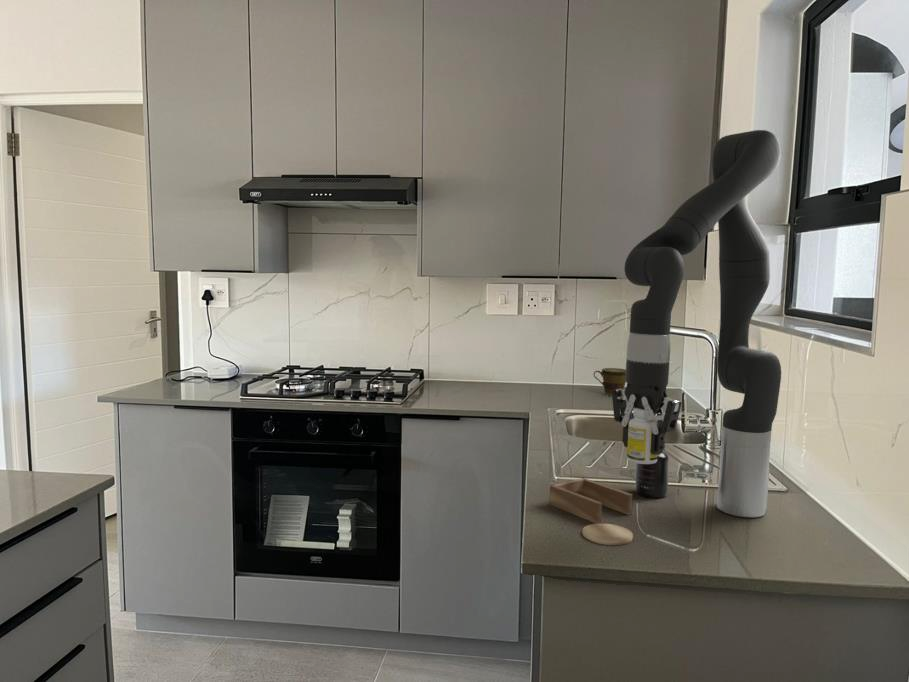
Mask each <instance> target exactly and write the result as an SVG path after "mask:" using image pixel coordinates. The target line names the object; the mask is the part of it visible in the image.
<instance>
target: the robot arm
mask: <svg viewBox="0 0 909 682" xmlns="http://www.w3.org/2000/svg"><path fill="white" fill-rule="evenodd" d="M781 148H782V147H781V144H780V141H779V139H778V137H777V136H776V135H775V134H774V133H773V132H772V131H769V130H766V129H755V130H750V131H744V132H739V133H733V134H729V135H728V134H727V135H725V136H722V137H721V138H719V139H718V141H717V142H716V144H715V145H714V147H713V151H712V160H711V162H712V164H711V165H712V166H711V168H712V177H713V182H712V183H710V184H708V185H707V186H705V187H704V188H702V189H700V190H699V191H698V192H695V193H694V194H693V195H691V196H690V197H689V198H688V199H686V200H685V201H684V202H683V203H681V205H680V206H679V207H678V208H677V209H676V210H675V211H674V213H673V214H672V215H671V216H670V217H669V218H668V219H667V221H666V222H665V223H664V224H663V225H662V226H661V227H660V228H658V229H656V230H655V231H653V232H652V233H650V234H649V235H648V236H646V237H645V238H644V239H642V240H641V241H640V242H639V243H638V244H636V245H635V246H634V247H633V248H632V249H631V251H630V252H629V254H628V255H627V256H626V260H625V262H624V268H623V269H624V274H625V277H626V279H627V280H628V281H629V282H630V283H632V284H634V285H635V286H641V287H649V289H648V292H647V294H646V297H645V298H644V299H643V298H642V299H638V300H636V301H634V302H633V303H632V305H631V308H630V319H629V320H630V322H629V333H628V339H627V344H626V345H627V347H626V361H625V369H626V375H625V381H626V382H625V383H626V385H625V386H626V387H624V389H616V390H613V391H612V397H611V398H612V409H613V420H614V422H616V423H617V422H619V423H620V424H621V426H622V444H623V446H624V447H625V448H627V445H628V425H629V421H630V420H631V419H633V418H634V415H633V408H634V407H635V408H639V409H644V410H645V412H646V415H647V419H648V421H649V422H650V423H651V427H652V431H653V433H654V434H652V440H651V454H654V455H657V454H660V453H661V452H662V451H663V449H664V441H665V437H666V436H665V435H666V434H667V433H673V432H675V431H676V426H677V423H678V421H679V417H680V412H681V408H682V404H683V403H682V401H681V400H680V399H673V398H671V397H669V396H668V393H667V386H668V384H669V376H670V375H669V373H670V356H671V339H670V338H671V335H670V334H671V323H672V322H671V319H672V311H673V308H674V305H675V303H676V300H677V297H678V294H679V291H680V288H681V285H682V282H683V279H684V274H685V264H684V259H683V256H685V255H688V254H690V253H691V252H694V250H696V248H697V246H698V245H699V244H700V243H701V242H702V241H703V240H704V238H706V236H707V235H708V234H709V232H710V231H711V230H712V229H713V228H714V227H715V226H716V225H717V227H718V245H719V249H718V250H719V252H718V272H719V273H718V275H719V276H718V277H719V289H720V291H719V292H720V296H719V297H720V299H719V300H720V303H719V305H720V308H719V309H720V310H719V311H720V312H719V313H720V316H719V317H720V319H719V321H720V322H719V333H718V334H719V336H718V347H717V348H718V350H717V361H716V363H717V364H716V369H717V370H716V371H717V379H718V381H719V384H720V385H721V386H722V387H723V388H724V389H725V390H728V391H729V392H734V393H738V394H743V395H744V396H743V401H742V405H741V406H740V407H737V408H733V409H729V410H726V411H725V412H723V416H722V426H721V427H722V428H721V443H720V457H719V468H718V469H719V472H718V483H717V484H718V486H717V498H716V508H717V509H718V510H720V511H721V512H723V513H725V514H728V515H732V516H736V517H742V518H760V517H763V516H765V514H766V511H767V507H768V494H769V484H770V483H769V482H770V481H769V480H770V468H771V467H770V457H771V455H770V454H771V443H772V430H773V423H774V420H775V417H776V415H777V413H778V412H777V411H778V403H779V397H780V396H779V395H780V388H781V381H782V365H781V362H780V361H781V360H780V359H779V357H778V356H777V355H776V354H775V353H774V352H772V351H769V350H763V349H762V350H761V349H755V348H750V347H749V346H750V345H749V333H750V331H749V330H750V324H751V320H752V317H753V315H754V313H755V311H756V310H757V309H758V307H759V305H760V303H761V301H762V299H763V298H764V296H765V294H766V293H767V290H768V287H769V285H770V277H771V273H770V271H771V270H770V269H771V268H770V267H771V266H770V264H771V262H770V258H771V257H770V249H769V245H768V243H767V241H766V238H765V237H764V234H763V233H762V231H761V229H760V228H759V225H757V223H756V222H755V220H754V218H753V217H752V215H751V212H750V210H749V208H748V205H747V204H748V203H747V195H749V194H750V193H751V192H752V191H754V190H755V189H756V188H757V187H759V185H761V184H762V183H764V182H765V180H767V179H768V178H769V177H770V176H771V175H772V174H773V173H774V172H775V171H776V169H777V168H778V166H779V164H780V160H781V154H782V149H781ZM627 402H628V403H627ZM663 407H664V409H663ZM664 410H665V411H664ZM654 414H656V415H655V416H654Z"/></svg>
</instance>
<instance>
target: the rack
mask: <svg viewBox="0 0 909 682" xmlns="http://www.w3.org/2000/svg"><path fill="white" fill-rule="evenodd" d="M548 504H549V506H552V507H554V508H557V509H558V510H559V509H560V510H562V511H564V512H567V513H569V514H571V515H574V516H577V517H579V518H582V519H584V520H587V521H589V522H592V523H593V524H602V514H603V513H602V511H603V510H602V509H603V507H606V508H607V509H611V510H614V511H616V512H619V513H622V514H625V515H627V516H629V515H632V512H633V511H632V509H633V508H632V507H633V493H630V492H628V491H624V490H620V489H618V488H615V487H611V486H608V485H605V484H603V483H599V482H596V481H594V480H592V479H588V478H585V477H581V478H576V479H574V480H568V481H565V482H564V481H563V482H560V483H556V484H551V485H550V486H549V502H548Z"/></svg>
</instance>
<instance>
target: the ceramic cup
mask: <svg viewBox="0 0 909 682" xmlns="http://www.w3.org/2000/svg"><path fill="white" fill-rule="evenodd" d="M596 373H599V374H600V375H601V377H602V381H601V380H600V379H599V378H597V376H596V375H595V374H596ZM625 375H626V368H625V369H624V368H618V367H604V368H601V371H600V370H595V371H594V372H593V378H595V379H596V380H597V381H598V382H599V383H600V384H601V385H602V386H603V389H604V395H608V396H607V397H610V396H612V391H613V390H616V389H624V390H625V388H626V387H625V386H626V383H627V382H626V381H625Z"/></svg>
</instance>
